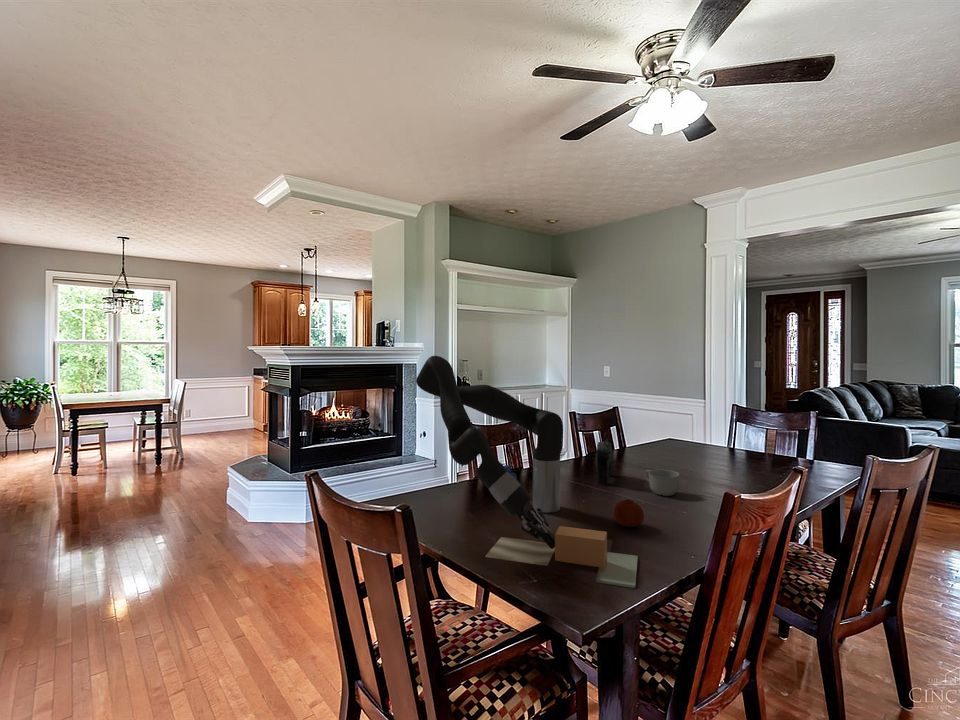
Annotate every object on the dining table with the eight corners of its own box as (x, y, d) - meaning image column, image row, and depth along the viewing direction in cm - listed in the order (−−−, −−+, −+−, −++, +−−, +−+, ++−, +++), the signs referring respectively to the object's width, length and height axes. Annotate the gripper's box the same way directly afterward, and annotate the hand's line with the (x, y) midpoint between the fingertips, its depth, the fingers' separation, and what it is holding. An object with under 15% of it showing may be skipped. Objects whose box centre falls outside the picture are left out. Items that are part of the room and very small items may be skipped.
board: (501, 542, 138) (501, 536, 138) (557, 549, 133) (557, 544, 133) (485, 562, 125) (485, 556, 125) (547, 571, 120) (547, 565, 120)
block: (559, 554, 128) (559, 526, 128) (606, 561, 124) (606, 531, 124) (554, 563, 123) (555, 534, 122) (604, 571, 118) (604, 540, 118)
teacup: (685, 496, 181) (686, 474, 181) (662, 499, 177) (662, 477, 177) (659, 486, 194) (659, 466, 194) (637, 489, 190) (637, 468, 190)
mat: (560, 547, 134) (560, 545, 134) (637, 558, 127) (637, 555, 127) (548, 574, 118) (548, 572, 118) (635, 588, 111) (635, 585, 111)
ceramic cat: (609, 486, 194) (609, 436, 194) (592, 485, 197) (592, 435, 196) (614, 474, 213) (615, 428, 212) (599, 473, 215) (599, 427, 215)
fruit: (607, 523, 153) (607, 497, 153) (630, 519, 156) (630, 494, 156) (625, 533, 145) (625, 506, 145) (649, 529, 148) (649, 502, 148)
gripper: (507, 495, 137) (550, 545, 133) (492, 509, 124) (539, 565, 120) (525, 478, 135) (570, 528, 131) (512, 491, 122) (561, 546, 118)
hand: (555, 545), depth 126 cm, fingers closed
